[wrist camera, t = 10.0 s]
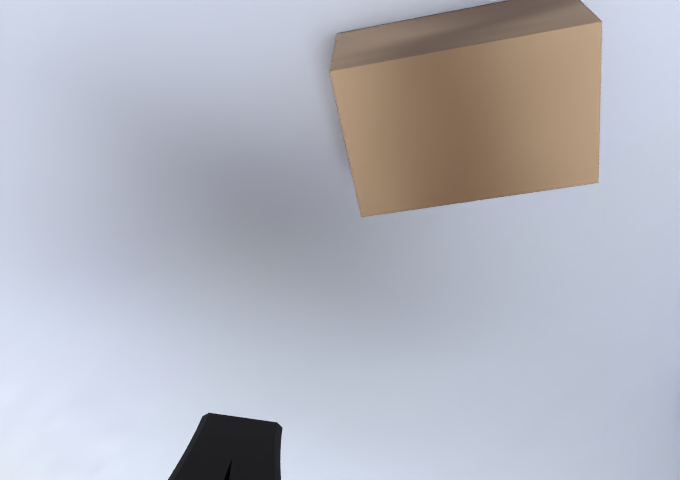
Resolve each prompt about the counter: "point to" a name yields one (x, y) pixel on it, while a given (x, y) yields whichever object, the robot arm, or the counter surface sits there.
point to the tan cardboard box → (470, 104)
